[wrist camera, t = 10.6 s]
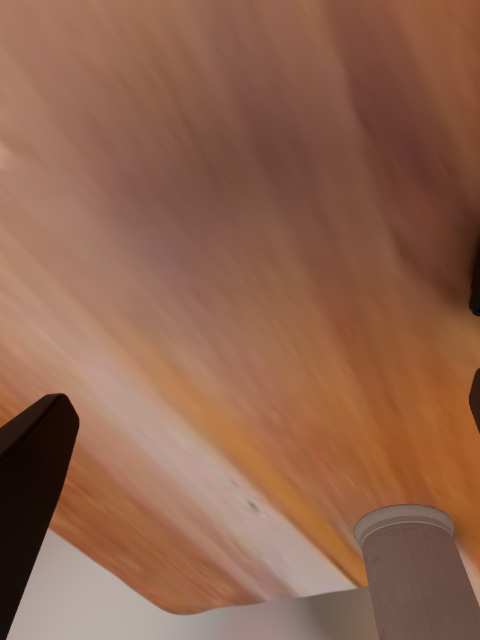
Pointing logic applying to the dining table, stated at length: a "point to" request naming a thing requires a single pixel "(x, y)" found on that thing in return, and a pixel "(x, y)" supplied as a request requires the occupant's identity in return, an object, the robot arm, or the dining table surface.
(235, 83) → the dining table surface
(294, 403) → the dining table surface
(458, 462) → the dining table surface
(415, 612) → the glass holder
